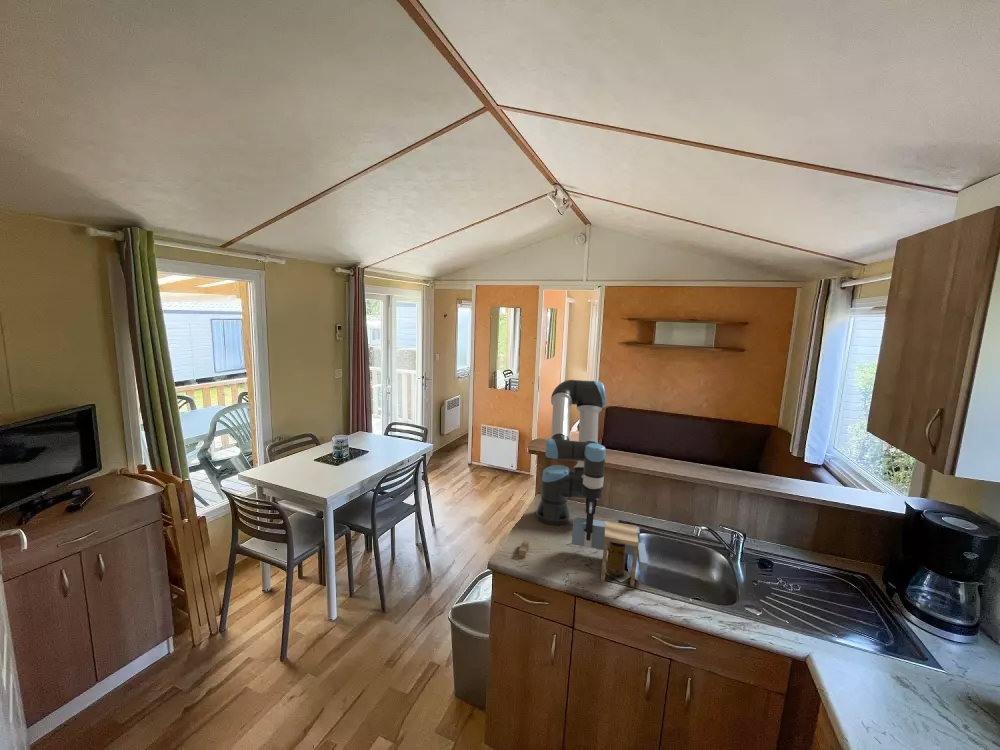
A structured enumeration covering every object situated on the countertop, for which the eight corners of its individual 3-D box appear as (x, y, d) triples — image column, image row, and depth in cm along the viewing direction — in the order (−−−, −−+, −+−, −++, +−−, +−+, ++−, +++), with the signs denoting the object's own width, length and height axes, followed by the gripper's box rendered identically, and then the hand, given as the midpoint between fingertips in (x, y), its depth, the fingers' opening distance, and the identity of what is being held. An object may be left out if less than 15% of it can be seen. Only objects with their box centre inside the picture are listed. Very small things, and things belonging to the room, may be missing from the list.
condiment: (613, 563, 154) (615, 533, 152) (633, 575, 147) (636, 544, 146) (600, 570, 149) (603, 540, 147) (621, 583, 143) (624, 551, 141)
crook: (572, 538, 162) (574, 516, 161) (643, 550, 155) (645, 528, 154) (569, 557, 149) (571, 533, 148) (646, 571, 142) (649, 547, 141)
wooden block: (522, 546, 163) (523, 539, 163) (529, 547, 163) (529, 540, 162) (518, 557, 156) (519, 550, 155) (525, 558, 155) (525, 551, 154)
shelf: (601, 562, 154) (605, 520, 152) (632, 567, 152) (636, 525, 149) (600, 580, 143) (604, 536, 141) (633, 587, 141) (638, 542, 138)
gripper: (583, 475, 164) (579, 530, 167) (580, 493, 147) (576, 553, 151) (603, 478, 162) (598, 533, 166) (602, 496, 146) (597, 557, 149)
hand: (587, 543), depth 158 cm, fingers closed on crook, 4 cm apart
